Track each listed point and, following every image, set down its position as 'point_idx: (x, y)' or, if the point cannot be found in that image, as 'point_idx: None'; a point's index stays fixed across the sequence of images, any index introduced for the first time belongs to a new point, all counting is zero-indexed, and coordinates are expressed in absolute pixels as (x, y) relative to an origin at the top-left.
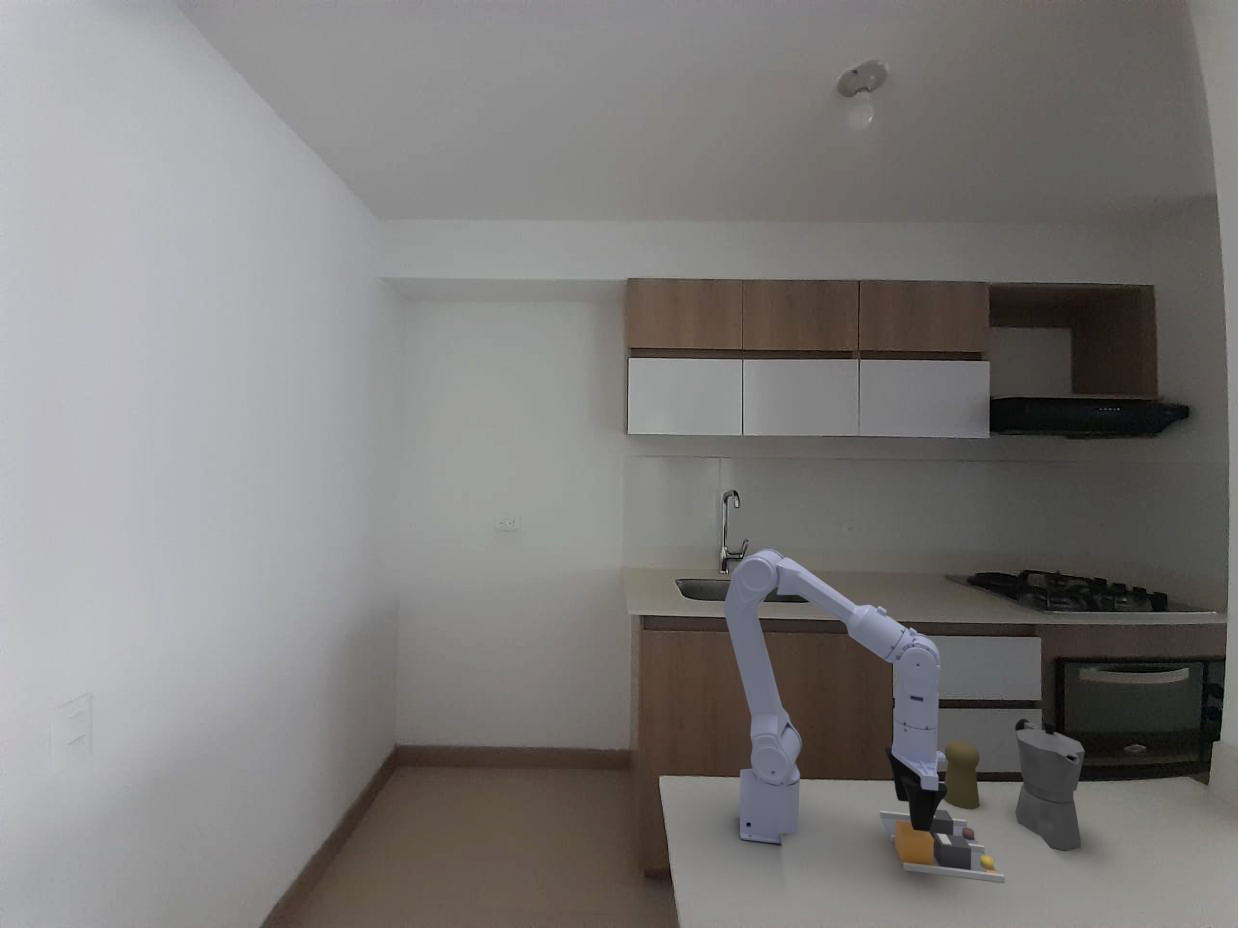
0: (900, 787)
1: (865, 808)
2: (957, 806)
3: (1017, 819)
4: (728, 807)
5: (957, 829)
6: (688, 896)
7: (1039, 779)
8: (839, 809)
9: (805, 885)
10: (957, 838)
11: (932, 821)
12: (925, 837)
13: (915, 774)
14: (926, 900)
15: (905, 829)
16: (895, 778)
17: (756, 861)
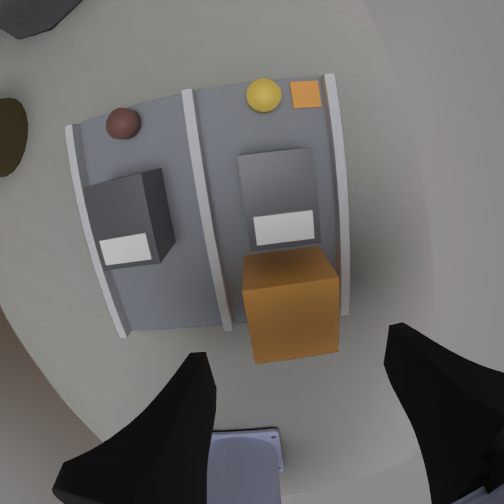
0: (208, 421)
1: (86, 333)
2: (10, 145)
3: (31, 24)
4: None
5: (100, 149)
6: (389, 467)
7: None
8: (119, 376)
9: (370, 413)
10: (258, 179)
11: (157, 238)
12: (333, 298)
13: (177, 435)
14: (390, 261)
15: (300, 344)
16: (207, 458)
17: (326, 453)
